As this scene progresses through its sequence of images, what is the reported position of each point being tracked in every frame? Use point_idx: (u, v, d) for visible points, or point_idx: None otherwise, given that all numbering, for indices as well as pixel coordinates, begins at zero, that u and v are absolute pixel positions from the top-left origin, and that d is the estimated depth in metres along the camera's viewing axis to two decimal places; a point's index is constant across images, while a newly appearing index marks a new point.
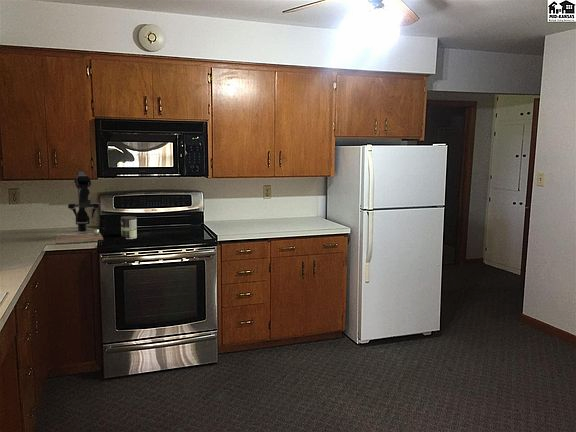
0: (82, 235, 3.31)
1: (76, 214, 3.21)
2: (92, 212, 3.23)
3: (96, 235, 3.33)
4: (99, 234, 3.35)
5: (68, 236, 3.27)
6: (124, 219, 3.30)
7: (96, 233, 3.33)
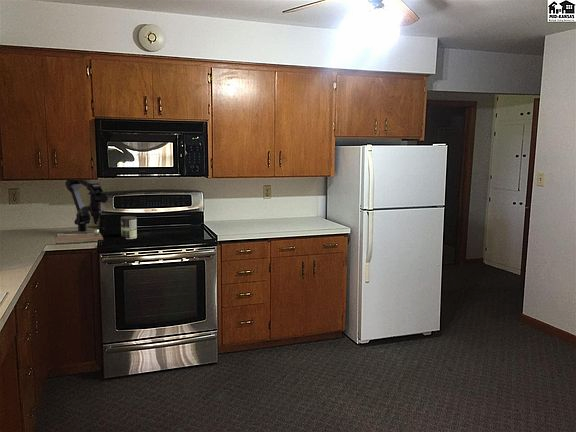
0: (82, 235, 3.31)
1: None
2: (93, 218, 3.39)
3: (96, 235, 3.33)
4: (99, 234, 3.35)
5: (68, 236, 3.27)
6: (124, 219, 3.30)
7: (96, 233, 3.33)
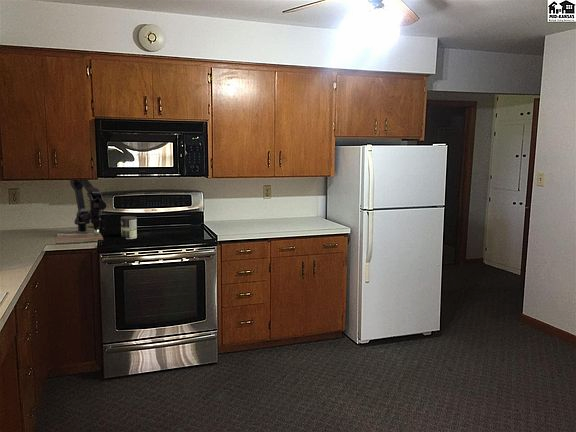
0: (82, 235, 3.31)
1: None
2: (93, 225, 3.35)
3: (96, 235, 3.33)
4: (99, 234, 3.35)
5: (68, 236, 3.27)
6: (124, 219, 3.30)
7: (96, 233, 3.33)
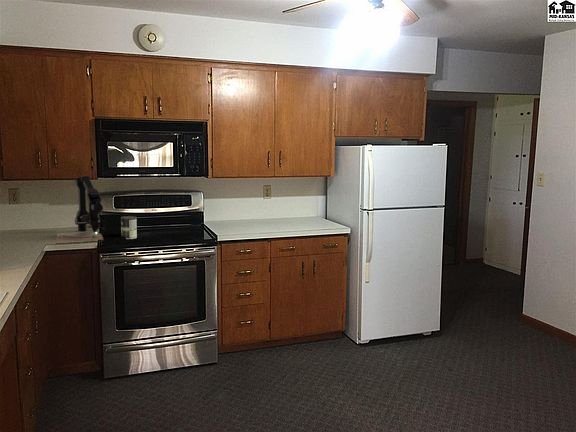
0: (80, 236, 3.26)
1: (92, 228, 3.29)
2: (92, 227, 3.28)
3: None
4: (97, 236, 3.27)
5: (67, 236, 3.26)
6: (124, 219, 3.30)
7: (93, 235, 3.26)
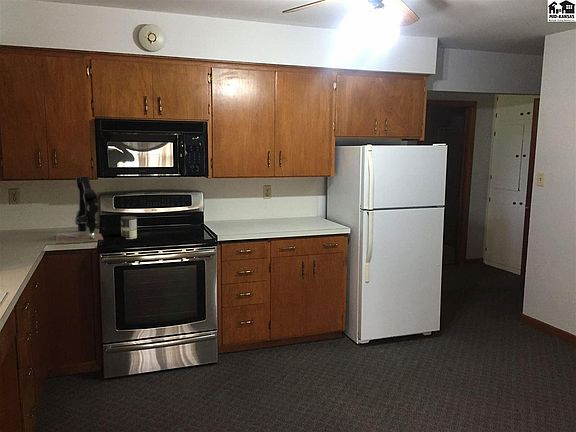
0: (78, 237, 3.24)
1: None
2: (89, 228, 3.23)
3: (96, 235, 3.33)
4: (93, 238, 3.22)
5: (66, 236, 3.25)
6: (124, 219, 3.30)
7: (90, 237, 3.21)
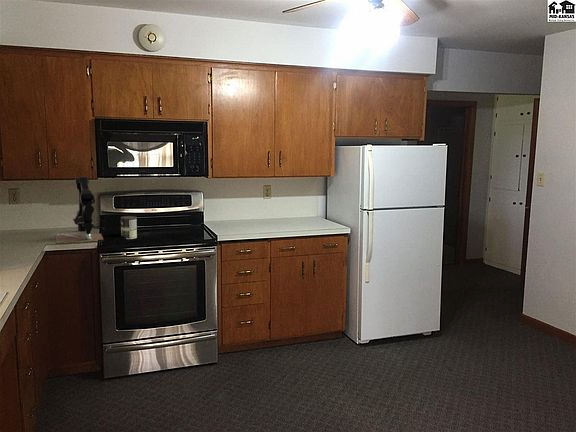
0: (76, 237, 3.22)
1: (86, 231, 3.22)
2: (85, 229, 3.21)
3: (96, 235, 3.33)
4: (89, 239, 3.19)
5: None
6: (124, 219, 3.30)
7: (86, 237, 3.18)
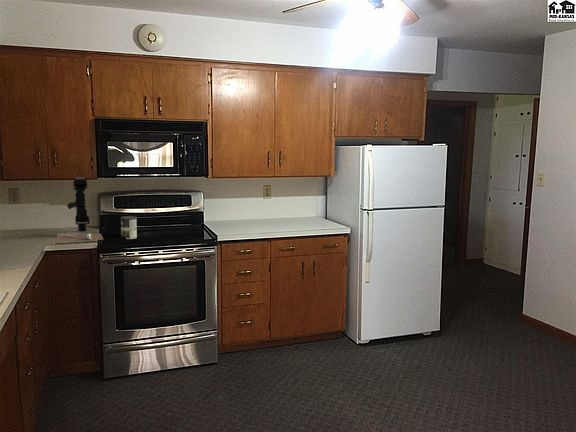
0: (76, 237, 3.22)
1: (79, 216, 3.31)
2: (79, 214, 3.30)
3: (96, 235, 3.33)
4: (89, 239, 3.19)
5: None
6: (124, 219, 3.30)
7: (86, 237, 3.18)
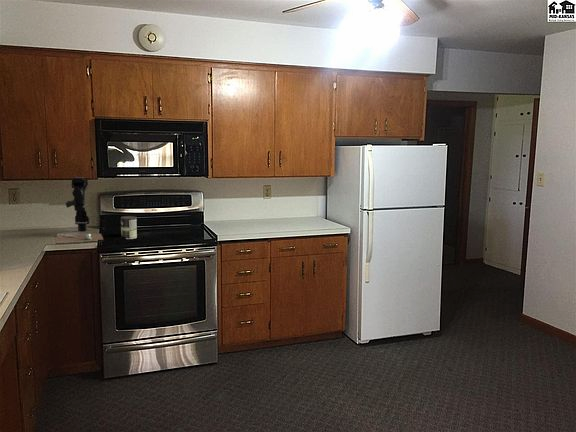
0: (76, 237, 3.22)
1: (77, 214, 3.33)
2: (77, 213, 3.32)
3: (96, 235, 3.33)
4: (89, 239, 3.19)
5: None
6: (124, 219, 3.30)
7: (86, 237, 3.18)
